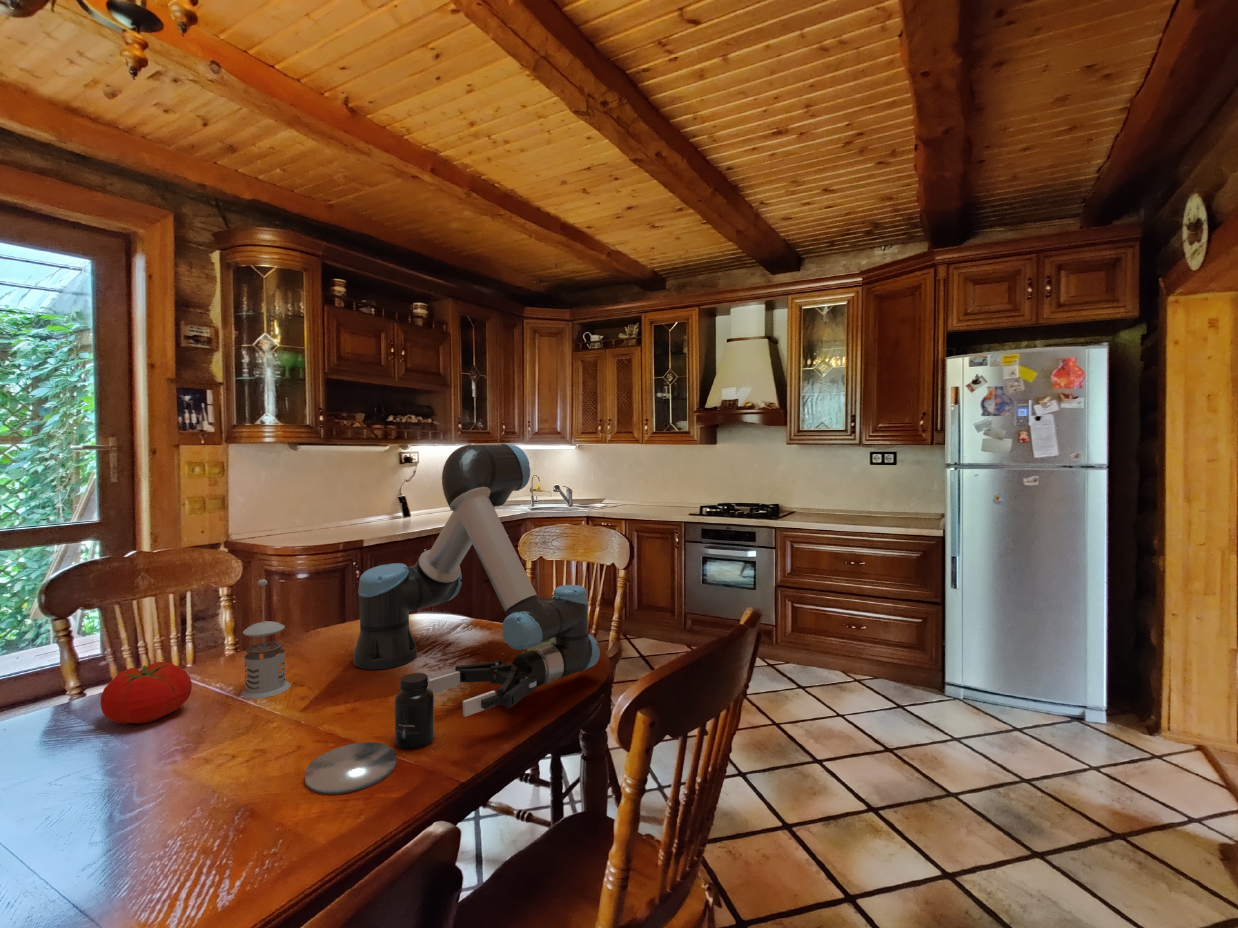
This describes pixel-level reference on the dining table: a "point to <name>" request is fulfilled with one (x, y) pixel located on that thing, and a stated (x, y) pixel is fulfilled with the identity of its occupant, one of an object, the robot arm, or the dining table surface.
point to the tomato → (145, 693)
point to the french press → (264, 660)
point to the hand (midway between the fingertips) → (445, 697)
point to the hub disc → (350, 768)
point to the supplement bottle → (414, 712)
